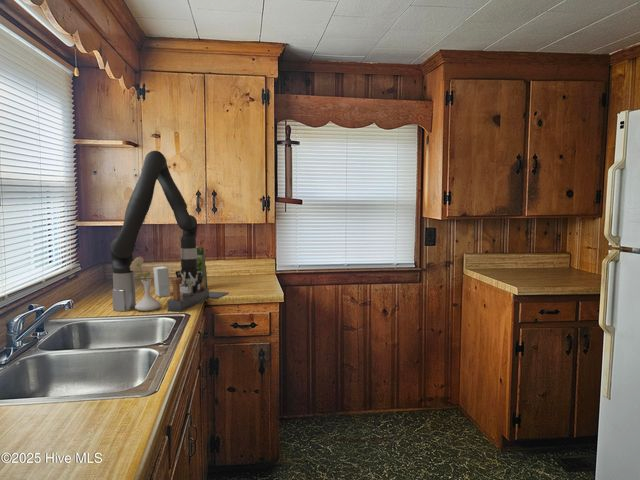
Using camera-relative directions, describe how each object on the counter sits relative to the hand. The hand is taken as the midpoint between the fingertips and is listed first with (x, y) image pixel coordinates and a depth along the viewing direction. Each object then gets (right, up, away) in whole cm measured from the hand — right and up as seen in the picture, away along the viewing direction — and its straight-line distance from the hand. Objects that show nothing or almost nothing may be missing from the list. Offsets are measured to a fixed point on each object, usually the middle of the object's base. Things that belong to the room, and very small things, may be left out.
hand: (190, 292), depth 228 cm
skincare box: (-20, -4, +21) cm, 29 cm away
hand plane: (0, -6, 0) cm, 6 cm away
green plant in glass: (-6, -2, +34) cm, 35 cm away
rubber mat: (+6, -4, +20) cm, 21 cm away
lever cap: (0, +1, 0) cm, 1 cm away
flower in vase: (-18, -7, -9) cm, 21 cm away
